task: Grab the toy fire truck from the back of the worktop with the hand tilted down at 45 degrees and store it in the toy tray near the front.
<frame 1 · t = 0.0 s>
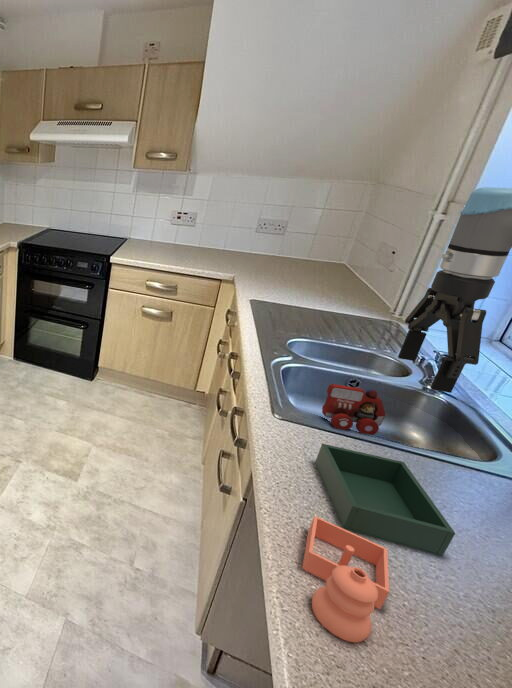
hand: (422, 373, 84), 21 cm above the counter, tool pointing down, fingers open, 13 cm apart
toy fire truck: (347, 425, 102), on the counter
pottery: (337, 590, 63), on the counter
toy tray: (369, 506, 78), on the counter
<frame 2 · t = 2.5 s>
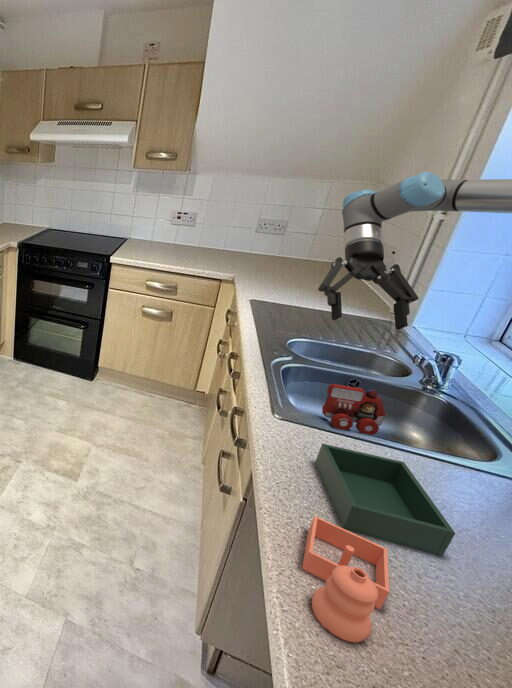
hand: (368, 322, 100), 25 cm above the counter, tool tilted 40°, fingers open, 13 cm apart
nothing on the counter moved.
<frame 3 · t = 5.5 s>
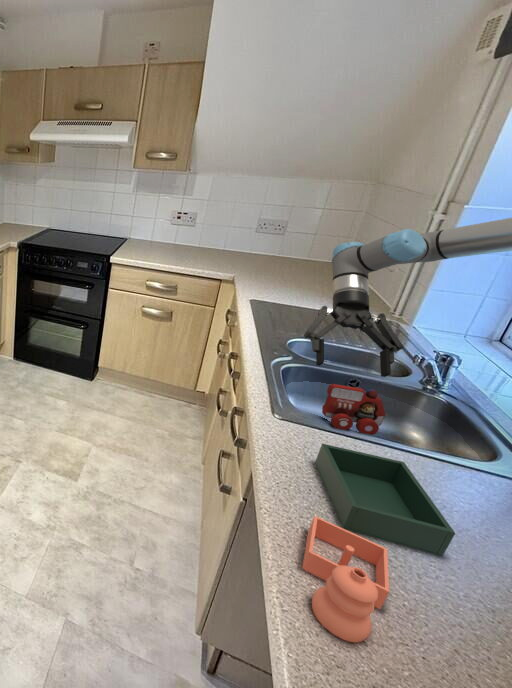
hand: (352, 369, 104), 12 cm above the counter, tool tilted 45°, fingers open, 13 cm apart
nothing on the counter moved.
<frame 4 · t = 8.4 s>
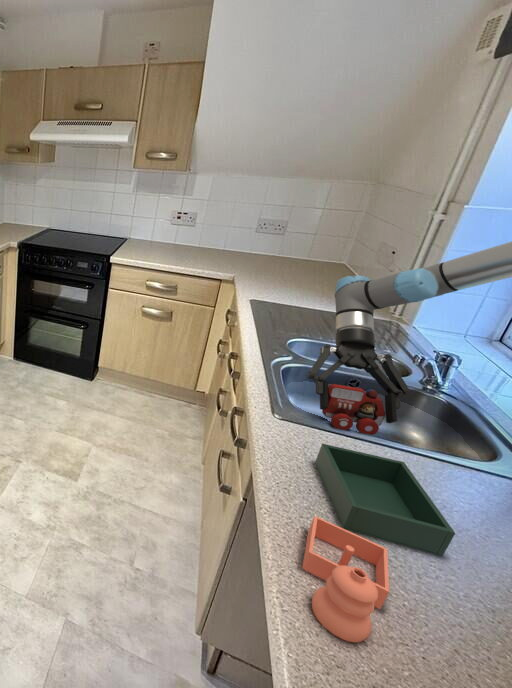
hand: (357, 415, 98), 5 cm above the counter, tool tilted 45°, fingers closed on toy fire truck, 12 cm apart
toy fire truck: (347, 425, 102), on the counter, touching gripper
everything else where it was.
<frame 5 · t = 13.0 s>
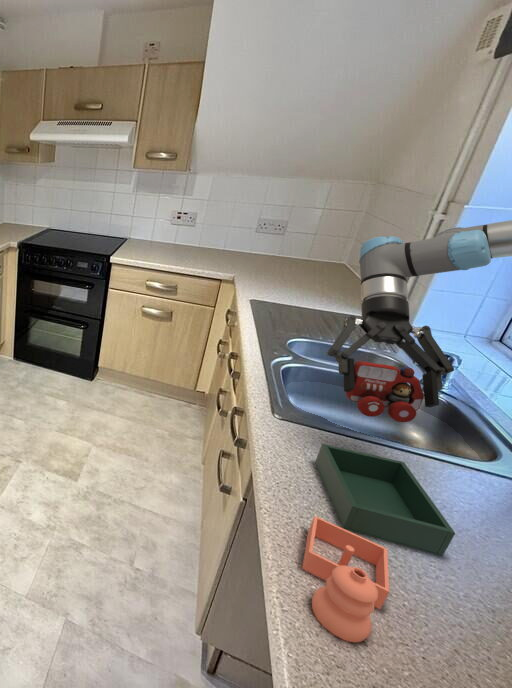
hand: (389, 397, 82), 17 cm above the counter, tool tilted 45°, fingers closed on toy fire truck, 12 cm apart
toy fire truck: (376, 411, 86), point 13 cm above the counter, touching gripper
everything else where it was.
when the fingers open (9 cm above the counter, at t = 18.0 s): toy fire truck stays where it is, resting on toy tray.
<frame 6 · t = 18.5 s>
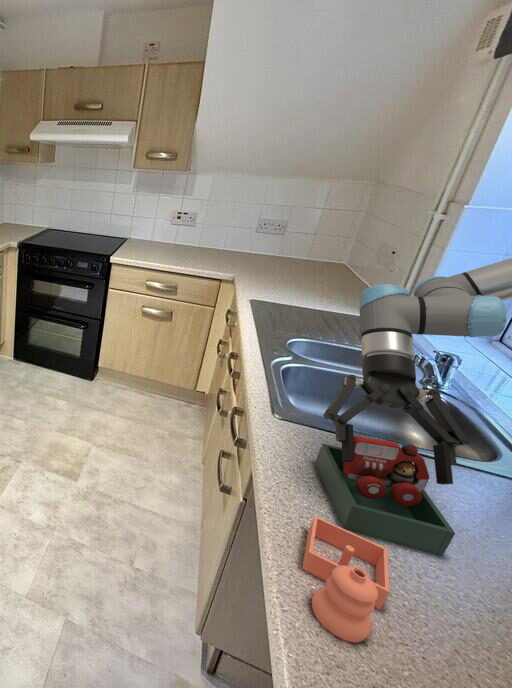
hand: (394, 472, 73), 10 cm above the counter, tool tilted 45°, fingers open, 13 cm apart
toy fire truck: (377, 490, 77), point 4 cm above the counter, touching gripper, toy tray
everything else where it was.
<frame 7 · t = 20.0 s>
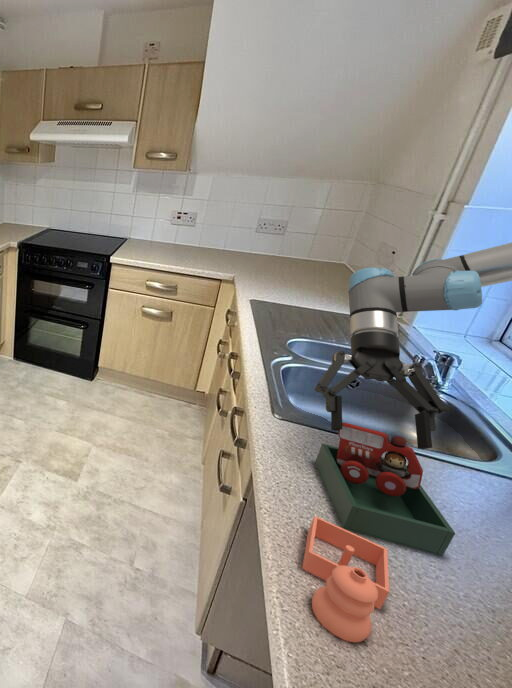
hand: (379, 438, 79), 12 cm above the counter, tool tilted 45°, fingers open, 13 cm apart
toy fire truck: (372, 482, 79), point 3 cm above the counter, touching gripper, toy tray
everything else where it was.
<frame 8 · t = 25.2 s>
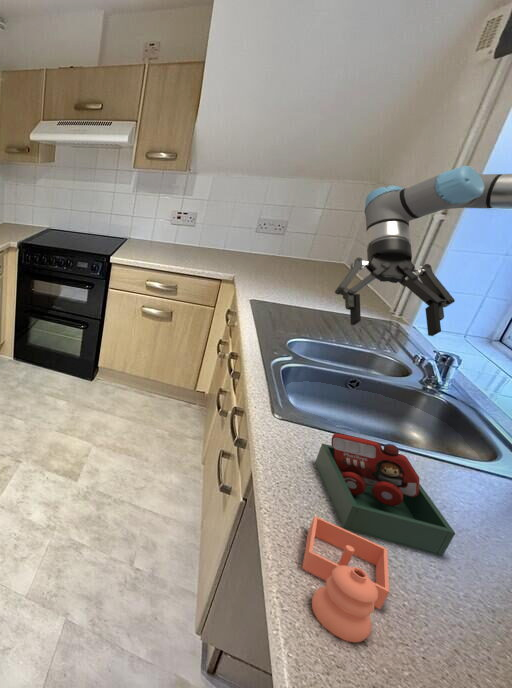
hand: (394, 328, 89), 28 cm above the counter, tool tilted 45°, fingers open, 13 cm apart
toy fire truck: (372, 492, 79), point 2 cm above the counter, touching toy tray
everything else where it was.
at the end: toy fire truck inside the target area in the toy tray (2.2 cm from its centre), point 1.8 cm above the toy tray's base; the gripper is holding nothing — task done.
